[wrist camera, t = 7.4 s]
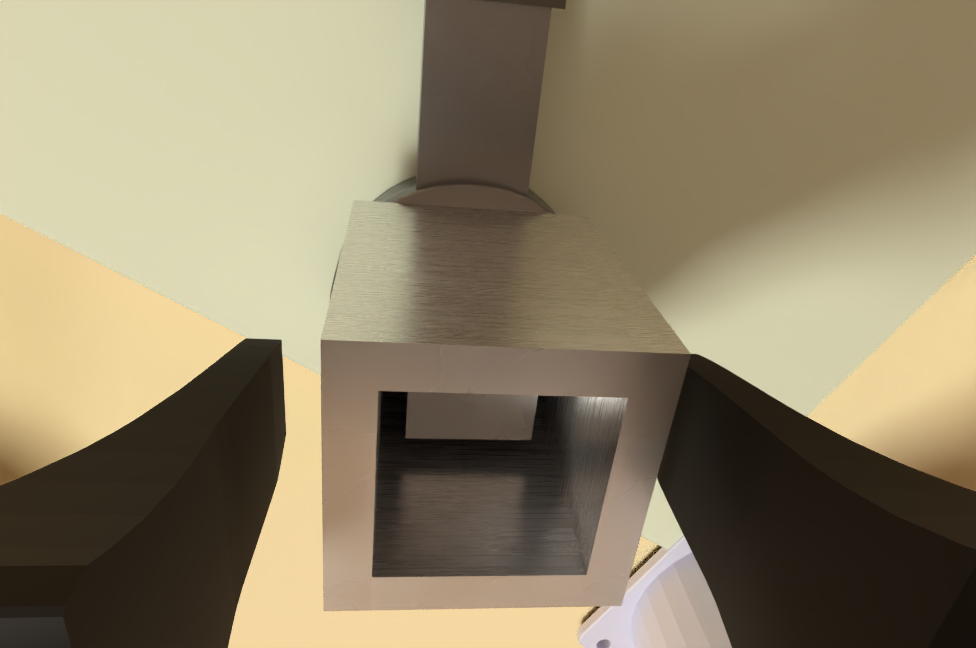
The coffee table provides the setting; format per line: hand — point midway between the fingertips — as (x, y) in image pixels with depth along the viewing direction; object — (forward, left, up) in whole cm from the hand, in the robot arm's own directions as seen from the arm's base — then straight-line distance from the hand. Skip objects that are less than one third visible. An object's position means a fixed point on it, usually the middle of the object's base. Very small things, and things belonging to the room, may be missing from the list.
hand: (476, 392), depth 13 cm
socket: (0, 0, -3) cm, 3 cm away
